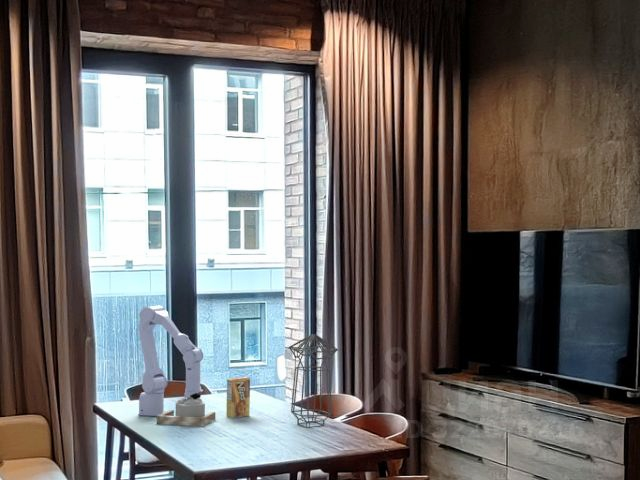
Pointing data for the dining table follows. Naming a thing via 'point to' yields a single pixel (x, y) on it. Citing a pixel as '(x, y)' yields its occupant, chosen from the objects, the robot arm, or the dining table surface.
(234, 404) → the candy box
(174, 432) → the dining table surface
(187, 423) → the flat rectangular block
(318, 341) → the geometric lantern
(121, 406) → the dining table surface
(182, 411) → the lumpy-topped squat cylinder
